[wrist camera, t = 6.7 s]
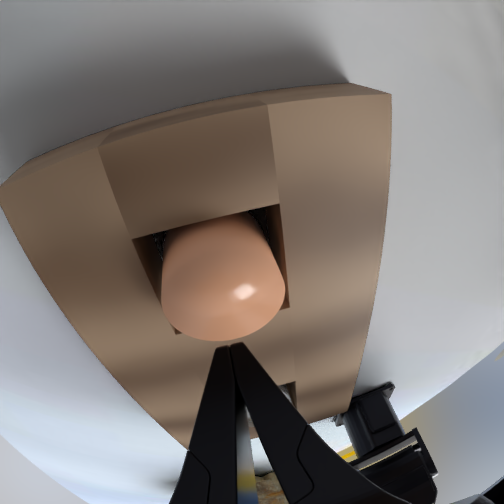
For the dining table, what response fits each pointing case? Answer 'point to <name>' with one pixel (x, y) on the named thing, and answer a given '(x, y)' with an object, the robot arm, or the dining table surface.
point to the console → (208, 207)
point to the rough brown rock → (269, 490)
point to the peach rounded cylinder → (220, 278)
